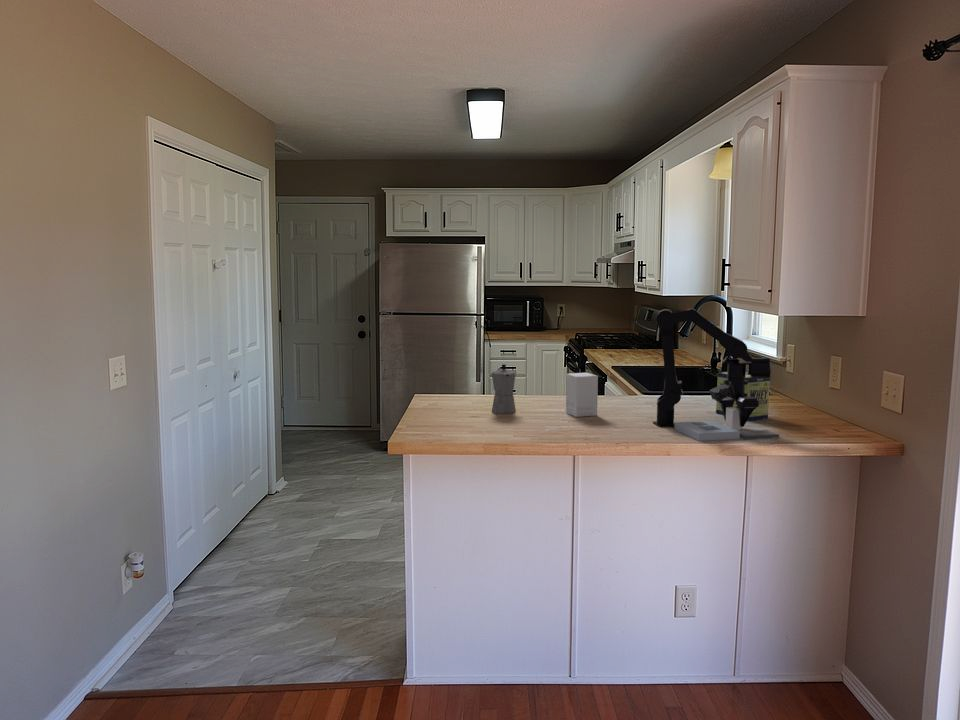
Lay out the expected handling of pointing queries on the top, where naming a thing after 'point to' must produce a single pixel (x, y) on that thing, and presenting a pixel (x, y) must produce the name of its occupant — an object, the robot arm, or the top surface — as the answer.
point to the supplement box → (581, 394)
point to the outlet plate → (707, 430)
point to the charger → (733, 418)
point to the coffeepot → (503, 391)
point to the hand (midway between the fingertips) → (734, 423)
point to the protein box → (751, 394)
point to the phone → (757, 434)
